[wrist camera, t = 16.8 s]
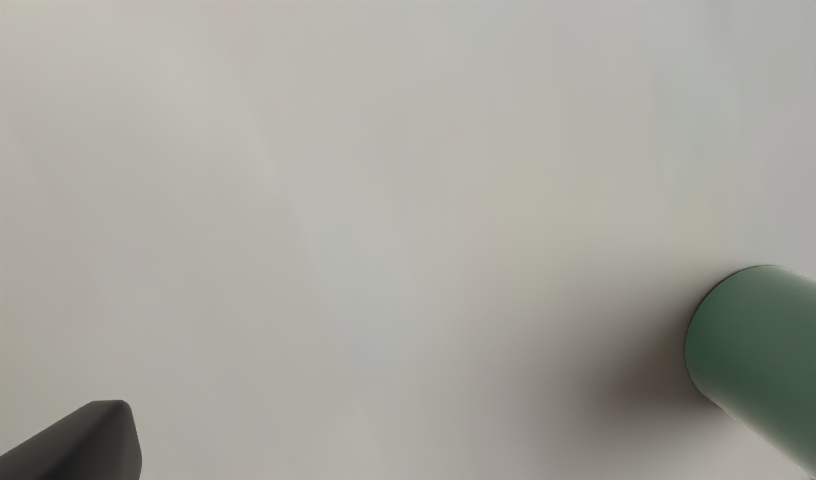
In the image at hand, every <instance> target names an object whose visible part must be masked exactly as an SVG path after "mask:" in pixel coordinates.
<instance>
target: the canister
mask: <svg viewBox="0 0 816 480" xmlns="http://www.w3.org/2000/svg"><path fill="white" fill-rule="evenodd" d="M685 360H686V365H687V369H688V372H689V375H690V377H691V379H692V381H693V383H694V385H695V386H696V387H697V389H698V390H699V391H700V392H701V393H702V394H703V395H704V396H706V397H707V398H708V399H710V400H711V401H712V402H713V403H715V404H716V405H717V406H719V407H720V408H721V409H723V410H724V411H725V412H726V413H728V414H729V415H730V416H732V417H733V418H734V419H736V420H737V421H738V422H740V423H741V424H742V425H743V426H745V427H746V428H747V429H749V430H750V431H751V432H753V433H754V434H755V435H756V436H758V437H759V438H760V439H762V440H763V441H764V442H766V443H767V444H768V445H770V446H771V447H772V448H773V449H775V450H776V451H777V452H779V453H780V454H781V455H783V456H784V457H785V458H786V459H788V460H789V461H790V462H792V463H793V464H794V465H796V466H797V467H798V468H799V469H801V470H802V471H803V472H805V473H806V474H807V475H809V476H810V477H811V478H813V479H814V480H816V280H815V279H812V278H810V277H807V276H805V275H802V274H800V273H797V272H795V271H792V270H789V269H787V268H784V267H779V266H768V265H767V266H757V267H752V268H748V269H745V270H743V271H740V272H738V273H736V274H734V275H732V276H730V277H728V278H727V279H725V280H724V281H722V282H721V283H720V284H719V285H718V286H716V287H715V288H714V289H713V290H712V291H711V292H710V293H709V294H708V295H707V296H706V298H705V299H704V300H703V302H702V303H701V304H700V306H699V307H698V309H697V311H696V312H695V314H694V316H693V318H692V321H691V323H690V326H689V329H688V332H687V337H686V343H685Z"/></svg>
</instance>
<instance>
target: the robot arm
mask: <svg viewBox="0 0 816 480" xmlns="http://www.w3.org/2000/svg"><path fill="white" fill-rule="evenodd" d="M141 467H142V455H141V449H140V445H139V441H138V436H137V432H136V428H135V423H134V419H133V415H132V411H131V408H130V406H129V404H128V403H126V402H125V401H123V400H106V401H93V402H90V403H88V404H86V405H84V406H83V407H81V408H79V409H78V410H76V411H74V412H73V413H71V414H69V415H68V416H66V417H65V418H63V419H61V420H60V421H58V422H56V423H55V424H53V425H51V426H50V427H48V428H46V429H45V430H43V431H41V432H40V433H38V434H36V435H35V436H33V437H32V438H30V439H28V440H27V441H25V442H23V443H22V444H20V445H18V446H17V447H15V448H13V449H12V450H10V451H8V452H7V453H5V454H3V455H2V456H0V480H139V477H140V473H141Z"/></svg>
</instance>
